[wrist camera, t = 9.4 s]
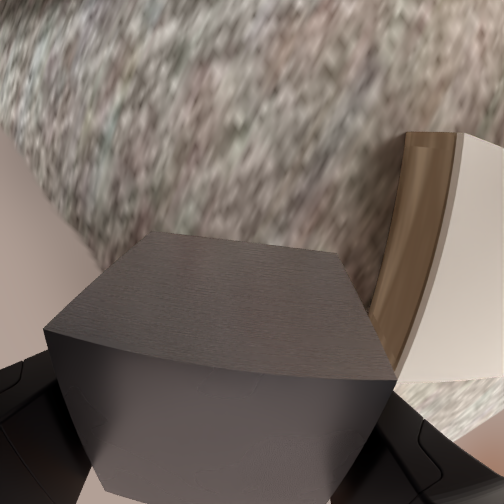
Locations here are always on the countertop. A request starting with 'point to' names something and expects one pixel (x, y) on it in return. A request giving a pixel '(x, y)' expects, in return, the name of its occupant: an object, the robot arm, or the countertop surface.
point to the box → (412, 237)
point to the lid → (464, 277)
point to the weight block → (220, 372)
